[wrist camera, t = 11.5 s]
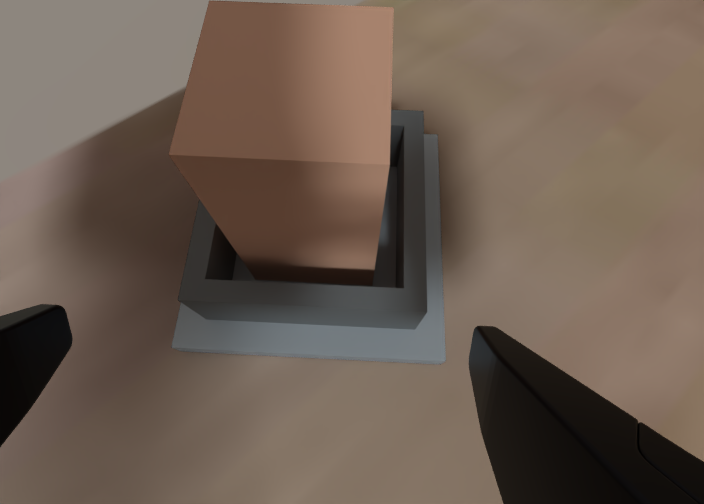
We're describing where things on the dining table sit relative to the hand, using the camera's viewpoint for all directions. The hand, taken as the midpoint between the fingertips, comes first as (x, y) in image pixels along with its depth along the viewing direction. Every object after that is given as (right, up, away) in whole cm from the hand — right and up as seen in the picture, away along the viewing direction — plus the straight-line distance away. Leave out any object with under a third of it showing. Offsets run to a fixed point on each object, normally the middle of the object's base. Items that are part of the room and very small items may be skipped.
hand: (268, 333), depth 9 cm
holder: (0, +2, +10) cm, 11 cm away
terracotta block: (0, +3, +10) cm, 10 cm away
